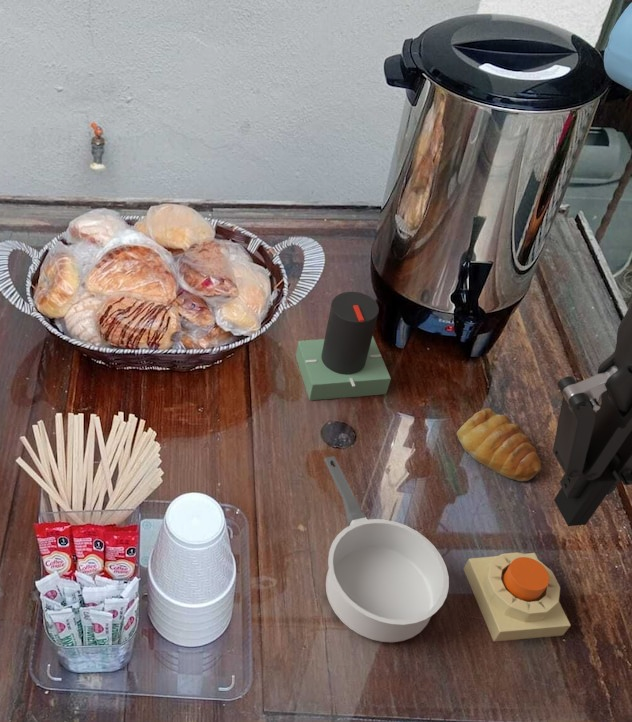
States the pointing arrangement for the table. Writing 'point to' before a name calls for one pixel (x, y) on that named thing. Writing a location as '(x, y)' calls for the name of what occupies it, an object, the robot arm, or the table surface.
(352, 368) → the timer knob
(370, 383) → the panel
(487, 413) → the pastry
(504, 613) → the block
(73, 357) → the table surface
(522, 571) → the button
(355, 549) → the saucepan
